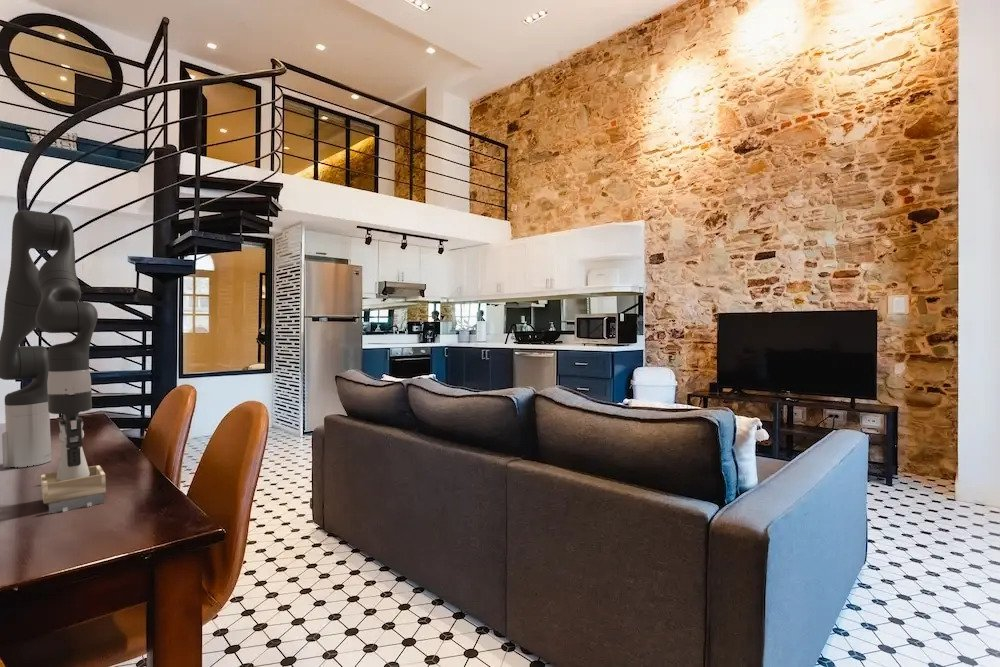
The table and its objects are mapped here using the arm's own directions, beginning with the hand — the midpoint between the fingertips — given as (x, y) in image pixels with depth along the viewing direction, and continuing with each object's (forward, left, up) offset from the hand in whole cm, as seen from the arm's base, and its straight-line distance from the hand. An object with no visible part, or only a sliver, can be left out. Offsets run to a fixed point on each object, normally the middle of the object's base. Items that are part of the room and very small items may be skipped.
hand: (72, 462), depth 115 cm
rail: (-2, +4, -8) cm, 10 cm away
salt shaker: (0, 0, -6) cm, 6 cm away
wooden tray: (0, -1, -8) cm, 8 cm away
